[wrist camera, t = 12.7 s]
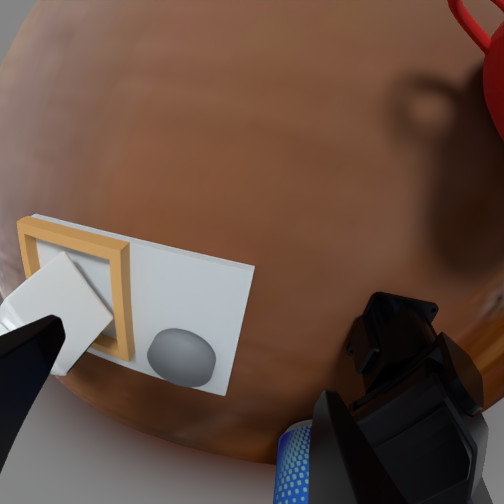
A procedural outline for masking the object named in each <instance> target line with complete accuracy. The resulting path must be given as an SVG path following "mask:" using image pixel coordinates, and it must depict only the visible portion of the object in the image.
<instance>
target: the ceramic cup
mask: <svg viewBox="0 0 504 504" xmlns="http://www.w3.org/2000/svg"><path fill="white" fill-rule="evenodd" d="M447 1H448V5H449V7H450V10H451V12H452V13H453V15H454V17H455V18H456V20H457V21H458V23H459V24H460V25H461V26H462V28H463V29H464V30H465V31H466V32H467V34H468V35H469V36H470V37H471V38H472V40H473V41H474V42H475V43H476V44H477V45H478V46H479V48H480V49H481V50H482V51H483V52H484V53H485V58H484V65H483V92H484V97H485V102H486V105H487V108H488V111H489V113H490V115H491V118H492V120H493V122H494V125H495V127H496V129H497V131H498V133H499V135H500V136H501V138H502V140H503V141H504V21H503V22H502V24H501V25H500V26H499V27H498V29H497V30H496V32H495V33H494V34H493V36H492V38H490V37H489V36H488V35H487V34H486V33H485V32H484V31H483V30H482V28H481V27H480V26H479V25H478V24H477V23H476V21H475V20H474V19H473V18H472V16H471V15H470V14H469V13H468V11H467V10H466V8H465V7H464V5H463V3H462V1H461V0H447ZM491 1H492V2H493V3H495V4H496V5H497V6H498V7H499V8H500V9H501V10H502V11H503V12H504V0H491Z"/></svg>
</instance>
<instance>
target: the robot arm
mask: <svg viewBox="0 0 504 504" xmlns="http://www.w3.org/2000/svg"><path fill="white" fill-rule="evenodd" d="M378 297H381V298H380V299H379V300H376V299H377V298H378ZM433 308H434V309H433ZM432 309H433V310H432ZM438 310H439V308H438V306H437V305H436V304H435V303H432V302H427V301H422V300H417V299H413V298H408V297H403V296H398V295H393V294H389V293H384V292H376V293H374V294H373V296H372V298H371V300H370V302H369V304H368V306H367V309H366V311H365V313H364V314H363V315H362V316H361V317H360V319H359V321H358V323H357V325H356V327H355V329H354V331H353V333H352V335H351V337H350V343H349V345H348V347H347V353H348V355H351V356H354V361H355V366H356V372H357V373H358V375H362V377H363V382H364V387H365V392H366V395H365V396H364V397H362V398H361V399H359V400H358V401H354V402H353V403H351V404H350V405H349V409H348V408H347V407H346V405H345V404H344V402H343V400H342V399H341V397H340V396H339V394H338V393H337V392H336V391H331V390H324V391H323V392H322V394H321V395H320V397H319V399H318V400H317V402H316V403H315V406H314V410H313V419H312V428H311V436H310V444H309V481H308V504H493V503H492V500H491V498H490V495H489V493H488V490H487V488H486V486H485V483H484V481H483V478H482V472H483V466H484V460H485V454H486V447H487V440H488V426H487V424H486V422H485V420H484V417H483V415H482V413H481V411H480V409H482V408H483V407H484V396H483V382H482V376H481V374H480V373H479V371H478V369H477V368H476V366H475V364H474V363H473V361H472V359H471V358H470V356H469V355H468V354H467V353H466V352H465V351H464V350H462V349H461V348H460V347H459V346H458V345H457V344H456V343H455V342H454V341H452V340H451V339H450V338H449V337H448V336H447V335H446V334H445V333H443V332H441V333H440V334H439V335H438V336H437V334H436V332H435V330H434V328H433V326H432V325H431V323H432V321H433V319H434V317H435V316H436V314H437V312H438ZM65 339H66V333H65V330H64V326H63V322H62V319H61V318H60V317H58V316H56V315H53V314H51V315H48V316H46V317H43V318H41V319H38V320H36V321H34V322H31V323H29V324H26V325H24V326H22V327H19V328H17V329H15V330H12V331H10V332H8V333H5V334H3V335H1V336H0V473H1V471H2V468H3V466H4V463H5V461H6V459H7V456H8V453H9V452H10V449H11V447H12V445H13V443H14V440H15V438H16V436H17V434H18V432H19V430H20V428H21V426H22V424H23V422H24V420H25V418H26V416H27V414H28V412H29V410H30V408H31V406H32V404H33V402H34V401H35V399H36V397H37V395H38V393H39V392H40V390H41V388H42V386H43V384H44V383H45V381H46V379H47V377H48V376H49V374H50V372H51V370H52V367H53V365H54V363H55V361H56V359H57V357H58V354H59V352H60V350H61V348H62V346H63V344H64V342H65Z"/></svg>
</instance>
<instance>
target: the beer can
mask: <svg viewBox="0 0 504 504" xmlns="http://www.w3.org/2000/svg"><path fill="white" fill-rule="evenodd" d="M311 428H312V419H311V420H305V421H301V422H298V423H295V424H293V425H292V426H290V427H289V428H288V429H287V430H286V432H285V433H284V434H283V435H282V436H281V437H280V439H279V444H278V456H277V468H276V478H275V489H274V499H273V504H308V481H309V444H310V436H311Z"/></svg>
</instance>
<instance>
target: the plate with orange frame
mask: <svg viewBox="0 0 504 504" xmlns="http://www.w3.org/2000/svg"><path fill="white" fill-rule="evenodd" d="M17 229H18V236H19V242H20V248H21V254H22V259H23V265H24V269H25V274H26V279H28V278H29V277H31V276H32V275H33V274H34V273H35V272H37V271H38V270H39V269H40V268H42V267H43V266H44V265H45V264H47V263H48V262H49V261H50V260H52V259H53V258H54V257H55V256H57V255H58V254H59V253H61V252H63V251H65V252H67V254H68V255H69V257H70V258H71V260H72V261H73V263H74V264H75V266H76V267H77V269H78V270H79V271H80V273H81V274H82V276H83V277H84V278H85V280H86V281H87V283H88V284H89V285H90V287H91V288H92V289H93V291H94V292H95V293H96V295H97V296H98V297H99V299H100V300H101V301H102V303H103V304H104V305H105V306H106V308H107V309H108V310H109V312H110V313H111V314H112V315H113V321H112V322H111V323H110V324H109V325H108V326H107V328H106V329H105V330H104V331H103V332H102V333H101V334H100V336H99V337H98V338H97V339H96V340H95V341H94V343H93V344H92V345H91V346H90V347H89V348H88V350H87V352H90V353H92V354H94V355H97V356H99V357H102V358H104V359H107V360H109V361H112V362H114V363H117V364H120V365H122V366H125V367H128V368H131V369H133V370H136V371H139V372H142V373H145V374H148V375H151V376H154V377H157V378H160V379H163V380H167V381H168V382H170V383H173V384H175V385H178V386H183V387H191V388H195V389H198V390H202V391H206V392H210V393H214V394H218V395H223V396H225V395H226V391H227V387H228V382H229V378H230V374H231V369H232V365H233V361H234V356H235V352H236V348H237V343H238V339H239V335H240V330H241V326H242V321H243V317H244V313H245V308H246V304H247V299H248V295H249V291H250V286H251V282H252V277H253V273H254V268H255V266H252V265H248V264H243V263H239V262H234V261H230V260H226V259H221V258H217V257H213V256H208V255H204V254H200V253H195V252H191V251H187V250H182V249H178V248H174V247H170V246H165V245H161V244H157V243H153V242H149V241H144V240H140V239H136V238H132V237H128V236H124V235H119V234H115V233H111V232H107V231H103V230H99V229H95V228H91V227H87V226H83V225H79V224H75V223H71V222H67V221H63V220H59V219H55V218H51V217H47V216H43V215H39V214H34V215H32V216H26V217H24V218H22V219H20V220H18V221H17Z"/></svg>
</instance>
